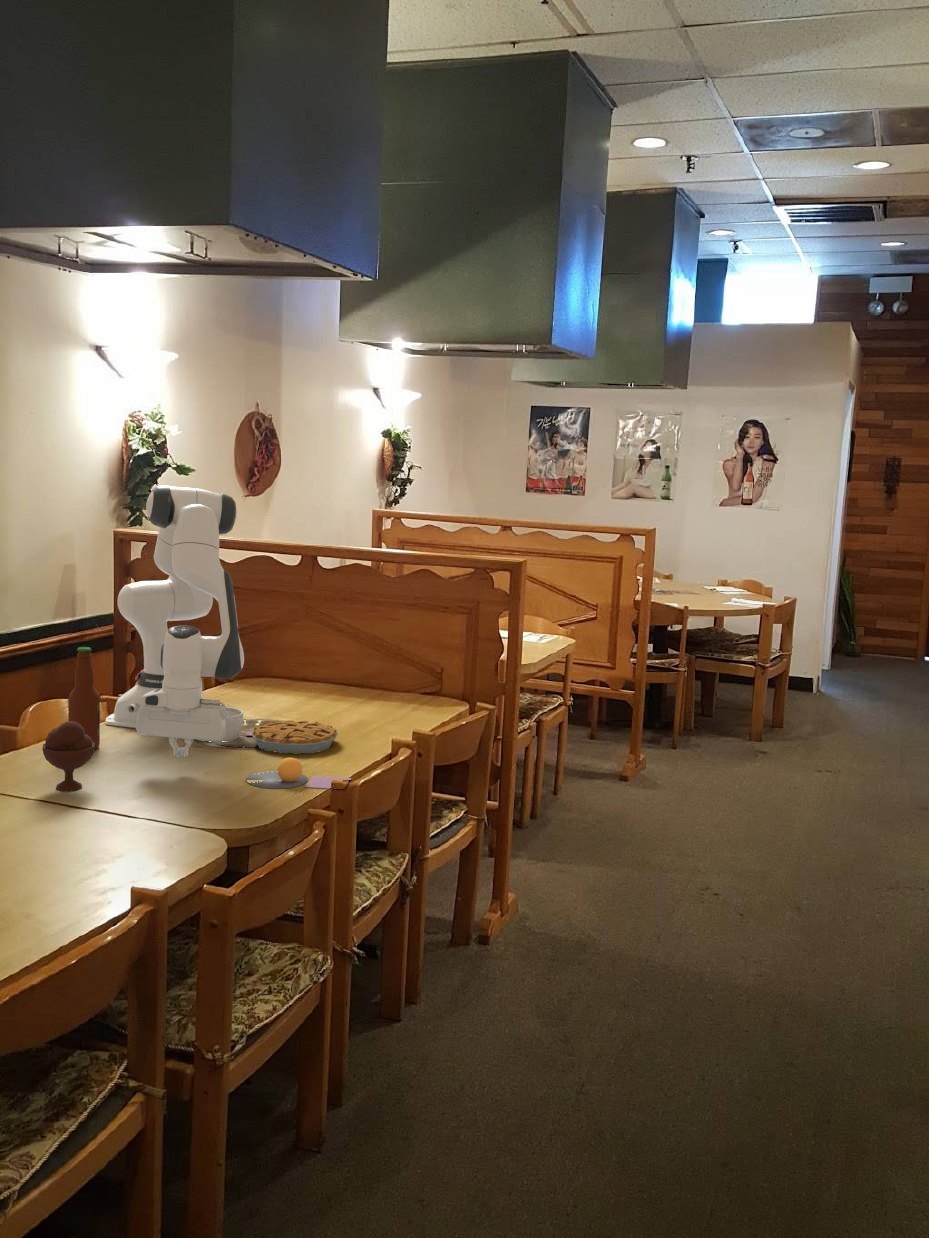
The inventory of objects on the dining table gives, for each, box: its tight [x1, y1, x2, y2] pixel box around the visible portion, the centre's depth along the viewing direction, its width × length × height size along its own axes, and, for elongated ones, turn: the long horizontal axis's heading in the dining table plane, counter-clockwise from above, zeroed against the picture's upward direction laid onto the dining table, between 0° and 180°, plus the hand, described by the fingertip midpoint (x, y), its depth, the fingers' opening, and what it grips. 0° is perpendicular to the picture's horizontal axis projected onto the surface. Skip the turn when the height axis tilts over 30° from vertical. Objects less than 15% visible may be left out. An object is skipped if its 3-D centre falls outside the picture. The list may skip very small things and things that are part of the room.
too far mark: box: [304, 775, 352, 790], centre depth 253 cm, size 9×9×1 cm
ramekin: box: [200, 706, 244, 743], centre depth 288 cm, size 13×13×7 cm
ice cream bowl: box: [41, 721, 95, 792], centre depth 239 cm, size 11×11×15 cm
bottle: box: [67, 646, 101, 750], centre depth 271 cm, size 7×7×25 cm
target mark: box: [245, 769, 309, 790], centre depth 254 cm, size 14×14×1 cm
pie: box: [251, 720, 338, 755], centre depth 285 cm, size 22×22×5 cm
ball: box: [277, 757, 303, 782], centre depth 252 cm, size 6×6×6 cm
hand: (180, 756), depth 255 cm, fingers closed
